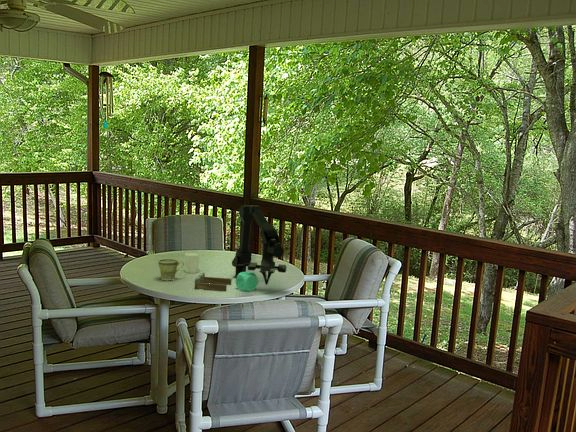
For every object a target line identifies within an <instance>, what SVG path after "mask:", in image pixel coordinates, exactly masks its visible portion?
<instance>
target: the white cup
mask: <svg viewBox="0 0 576 432" xmlns="http://www.w3.org/2000/svg"><path fill="white" fill-rule="evenodd" d="M199 264H200V254H199V253H198V252H197V253H196V252H186V253H184V267H185V273H186V272H187V274H196V273H198V272H199Z"/></svg>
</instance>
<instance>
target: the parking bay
mask: <svg viewBox="0 0 576 432" xmlns="http://www.w3.org/2000/svg"><path fill="white" fill-rule="evenodd" d="M209 283H210V284H209ZM231 285H232V278H229V277H228V278H225V277H213V276H205V272H201V273H200V274H199V275H197V277H195V279H194V290H199V289H203V290H202V291H212V290H213V291H215V292H227V286H231ZM213 291H212V292H213Z"/></svg>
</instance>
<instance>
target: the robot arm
mask: <svg viewBox="0 0 576 432" xmlns="http://www.w3.org/2000/svg"><path fill="white" fill-rule="evenodd" d="M238 217H239V218H240V221H241V225H240V237H239V247H238V249H237V250H236V252H235V256H234V257H233V259H232V261H231V266H233V267H234V268H235V273H234V276H233V279H236V277H237V276H238V274H239V273H241V272H247V270H248V271H255V270H256V269H258V270H259V271H258V272H259V273H261V275H262V276H263V279H264V280H263V281H264V283H265V285H268V284H269V281H270V278H271V276H272V274H275V272H276V271H277V272H278V273H286V272H287V268H288V267H287V265H286V264H282V263H281V264H278V265H276V261H274V258H281V257H283V255H284V253H285V250H284V248H283V247H282V246H281V239H280V237H279V233H278V231H277V229H276V228H275V227H274V226H273V225H272V224H270V223H269V222H268V220H267V218H266V216H265V214H264V213H263V212H262V208H261V206H260V205H241V206H240V207H239V208H238ZM254 220H255V222H256V224H257V226H258V227H259V235H260V238H261V241H260V244H262V252H261V256H262V257H261V261H260V264H258V262H252V256H253V255H252V252H251V251H250V249H249V248H250V247H249V246H250V238H251V227H252V222H253V221H254Z"/></svg>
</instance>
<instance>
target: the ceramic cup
mask: <svg viewBox="0 0 576 432" xmlns="http://www.w3.org/2000/svg"><path fill="white" fill-rule="evenodd" d="M157 262H158V267H159V272H160V278H161V281H163V280H172V281H174V280H175V277H176V274H177V272H179V271H180V269H181V268H183V267H185V262H183V261H179V260H178V259H176V258H161V259H158V261H157ZM179 264H182V266H181V267H179V268H177V267H178V266H179ZM173 279H174V280H173Z"/></svg>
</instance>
